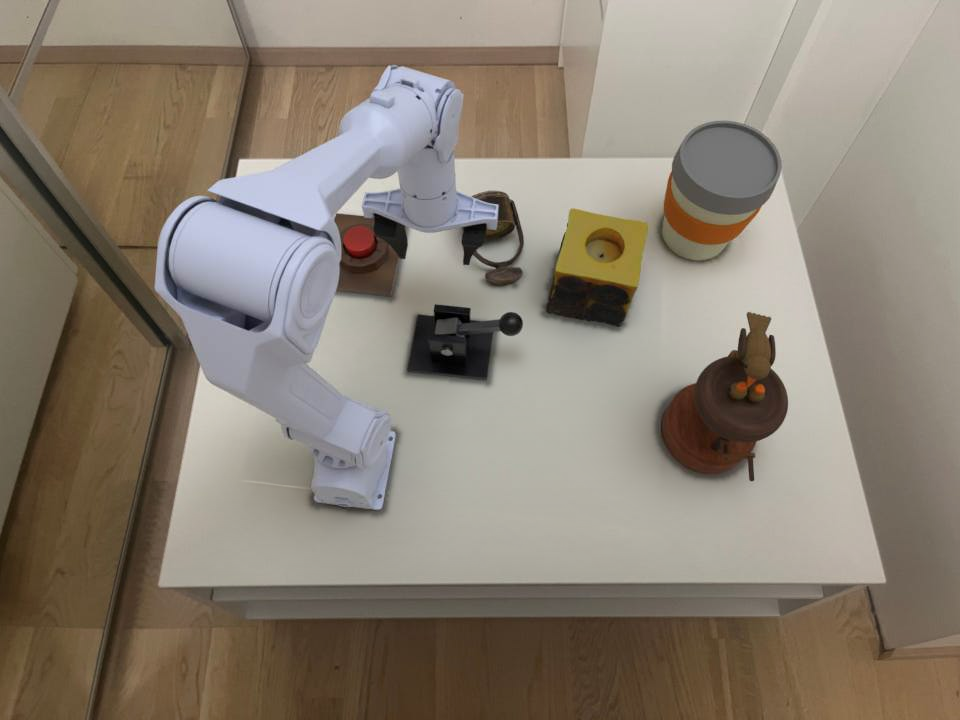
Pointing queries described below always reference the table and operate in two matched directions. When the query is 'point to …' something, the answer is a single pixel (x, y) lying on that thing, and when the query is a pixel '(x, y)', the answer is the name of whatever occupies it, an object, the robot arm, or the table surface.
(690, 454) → the music box
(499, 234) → the brown desk clock
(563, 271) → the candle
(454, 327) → the lever
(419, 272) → the table surface
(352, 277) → the button block
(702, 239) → the reusable coffee cup
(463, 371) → the bracket
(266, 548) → the table surface
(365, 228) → the button
